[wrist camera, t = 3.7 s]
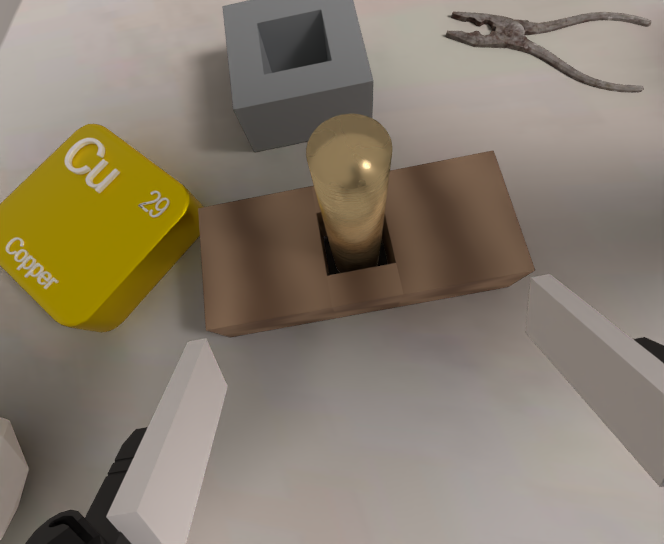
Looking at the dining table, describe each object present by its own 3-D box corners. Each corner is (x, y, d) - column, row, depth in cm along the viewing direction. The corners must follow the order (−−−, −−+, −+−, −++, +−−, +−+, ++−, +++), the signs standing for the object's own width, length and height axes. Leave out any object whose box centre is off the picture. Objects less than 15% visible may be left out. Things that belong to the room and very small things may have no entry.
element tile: (12, 249, 36) (-40, 231, 31) (119, 142, 38) (85, 111, 34) (107, 342, 32) (64, 337, 28) (218, 217, 35) (196, 193, 30)
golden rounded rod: (374, 233, 32) (382, 106, 17) (383, 274, 31) (400, 178, 16) (330, 241, 33) (300, 122, 17) (338, 283, 31) (313, 195, 16)
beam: (474, 183, 33) (493, 150, 28) (508, 286, 30) (535, 270, 25) (221, 231, 34) (198, 208, 29) (230, 337, 31) (205, 330, 26)
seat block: (350, 37, 39) (347, -21, 33) (371, 128, 35) (373, 80, 30) (243, 60, 39) (222, 6, 34) (254, 152, 36) (233, 109, 30)
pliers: (665, 89, 33) (445, 84, 36) (657, 96, 34) (443, 91, 36) (651, 9, 36) (447, 10, 38) (645, 18, 37) (445, 18, 39)
